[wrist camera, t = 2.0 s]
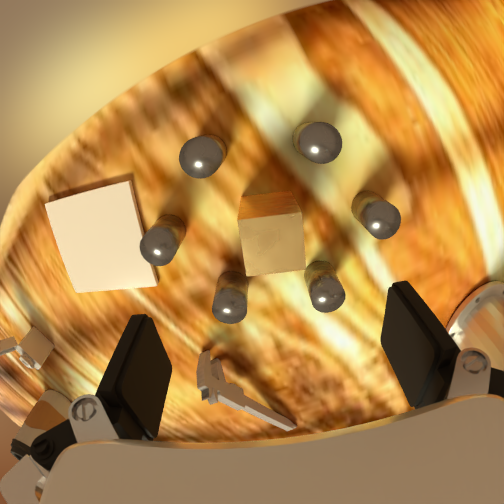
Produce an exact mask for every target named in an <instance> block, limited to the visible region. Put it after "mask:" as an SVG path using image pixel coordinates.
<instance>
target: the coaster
mask: <svg viewBox="0 0 504 504" xmlns="http://www.w3.org/2000/svg"><path fill="white" fill-rule="evenodd" d="M45 207H46V210H47V214H48V217H49V220H50V224H51V227H52V230H53V233H54V236H55V239H56V242H57V245H58V248H59V251H60V254H61V256H62V259H63V262H64V264H65V267H66V270H67V272H68V275H69V277H70V280H71V282H72V284H73V287H74V289H75V292H76V293H80V292H93V291H105V290H117V289H129V288H140V287H151V286H157V285H158V283H159V282H158V279H157V276H156V272H155V269H154V266H153V265H152V264H150V263H148V262H147V261H146V260H145V259H144V258H143V256H142V255H141V252H140V247H139V246H140V241H141V239H142V237H143V236H144V235H145V234H144V231H143V227H142V223H141V219H140V215H139V211H138V207H137V203H136V199H135V195H134V190H133V186H132V181H131V180H128V181H124V182H120V183H116V184H111V185H108V186H104V187H100V188H96V189H92V190H88V191H85V192H81V193H78V194H74V195H71V196H67V197H64V198H61V199H57V200H54V201H51V202H48V203H46V204H45Z"/></svg>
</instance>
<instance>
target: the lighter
mask: <svg viewBox="0 0 504 504" xmlns="http://www.w3.org/2000/svg"><path fill="white" fill-rule="evenodd" d="M54 347H55V346H54V344H52V343H51V342H50V341H49V340H48V339H47V338H46V337H45V336H44V335H43V334H42V333H41V332H40V331H39V330H38V329H37V328H36V327H34V326H33V327H32V329H31V330H30V331H29V332H28V333H27V335H26V336H25V337H24V338H23V340H22V341H21V342H20V344H19V345H18V344H17V342H16V340H15V338H14V336H13V337H10V338H7V339H4V340H0V355H3V354H6V353H9V352H12V351H15V350H17V351H18V352H19V353H20V354H21V356H20V358H19V360H20V361H21V362H22V363H23V364H25V365H26V366H27V367H28V368H34V367H35V368H36V369H37V370H39V369H40V368H41V366H42V365H43V363H44V362H45V360H46V359H47V357H48V356H49V354H50V353H51V351H52V350H53V348H54Z"/></svg>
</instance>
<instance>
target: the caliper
mask: <svg viewBox="0 0 504 504" xmlns="http://www.w3.org/2000/svg"><path fill="white" fill-rule="evenodd" d="M197 387H198V389H199V390H201V391H202V401H203V400H206V399H208V401H209V404H210V405H211V404H214V403H217V402H218V401H220V402H222V403H224V404H226V405H228V406H230V407H232V408H234V409H236V410H241V409H242V410H244V411H246V412H248V413H250V414H252V415H254V416H256V417H258V418H260V419H262V420H264V421H267V422H269V423H271V424H273V425H275V426H278V427H280V428H282V429H284V430H287V431H289V430H292V429H294V428H296V427H297V426H296V425H295V424H293V423H292V422H291V421H290V420H289V419H287V418H286V417H284V416H282V415H280V414H278V413H276V412H274V411H272V410H270V409H268V408H266V407H265V406H263V405H261V404H259V403H257V402H256V401H254V400H252V399H250V398H249V397H247V396H245V395H244V393H243V389H242V388H240V387H237V386H236V385H235V384H232V383H227V382H226V380H225V377H224V373H223V369H222V365H221V362H220V360H219V359H218V358H216V359H214V360H211V361H210V351H209V350H207V351H205V352H203V353H201V354H200V356H199V361H198V366H197Z"/></svg>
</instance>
